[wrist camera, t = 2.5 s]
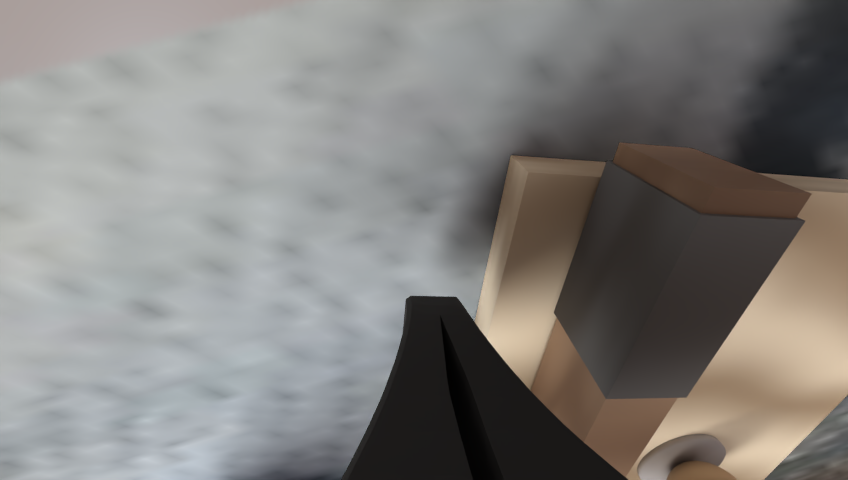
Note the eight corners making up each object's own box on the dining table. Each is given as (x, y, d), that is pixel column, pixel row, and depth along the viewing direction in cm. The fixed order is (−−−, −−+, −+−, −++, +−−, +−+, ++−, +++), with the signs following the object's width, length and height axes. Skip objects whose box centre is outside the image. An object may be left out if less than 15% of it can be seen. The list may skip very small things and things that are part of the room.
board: (721, 472, 22) (805, 582, 17) (438, 486, 20) (454, 616, 15) (970, 188, 13) (1261, 266, 9) (510, 155, 11) (595, 238, 6)
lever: (539, 504, 18) (568, 593, 15) (475, 507, 18) (493, 600, 15) (710, 149, 9) (851, 199, 7) (595, 139, 9) (692, 189, 6)
